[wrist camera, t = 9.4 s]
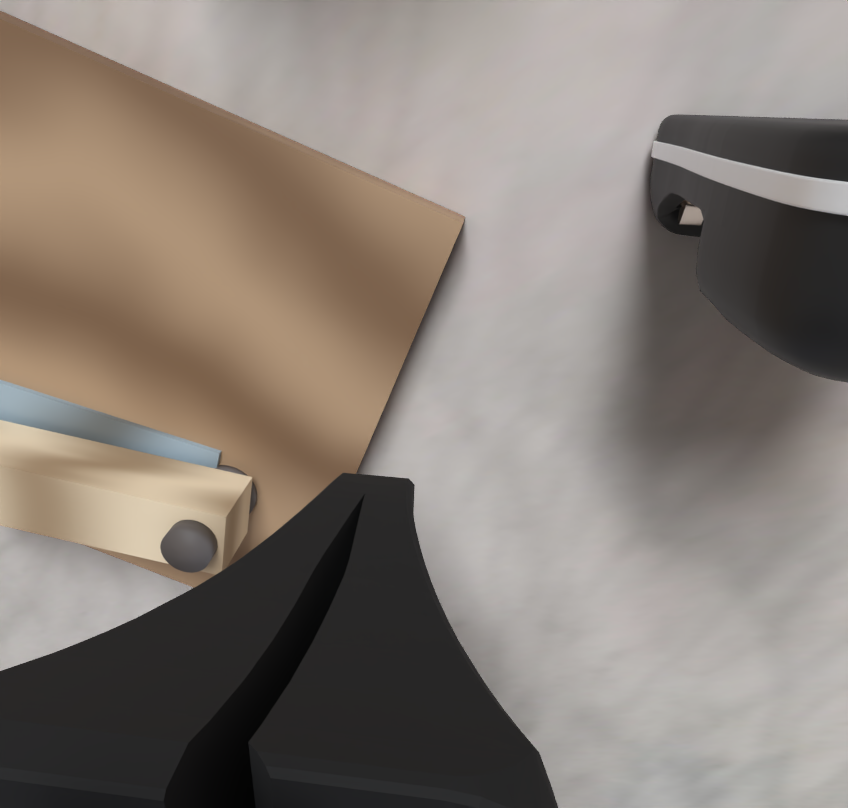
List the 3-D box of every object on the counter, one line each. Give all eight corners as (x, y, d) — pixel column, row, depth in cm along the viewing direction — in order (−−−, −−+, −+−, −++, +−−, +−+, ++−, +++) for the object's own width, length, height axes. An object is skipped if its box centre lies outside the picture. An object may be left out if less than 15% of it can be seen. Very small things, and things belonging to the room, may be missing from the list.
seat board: (299, 603, 27) (289, 630, 25) (-52, 467, 26) (-82, 487, 24) (465, 217, 20) (462, 224, 18) (-15, 4, 18) (-56, -4, 17)
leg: (252, 477, 22) (218, 528, 20) (247, 532, 23) (214, 588, 21) (-56, 407, 22) (-132, 448, 20) (-47, 465, 23) (-118, 512, 21)
